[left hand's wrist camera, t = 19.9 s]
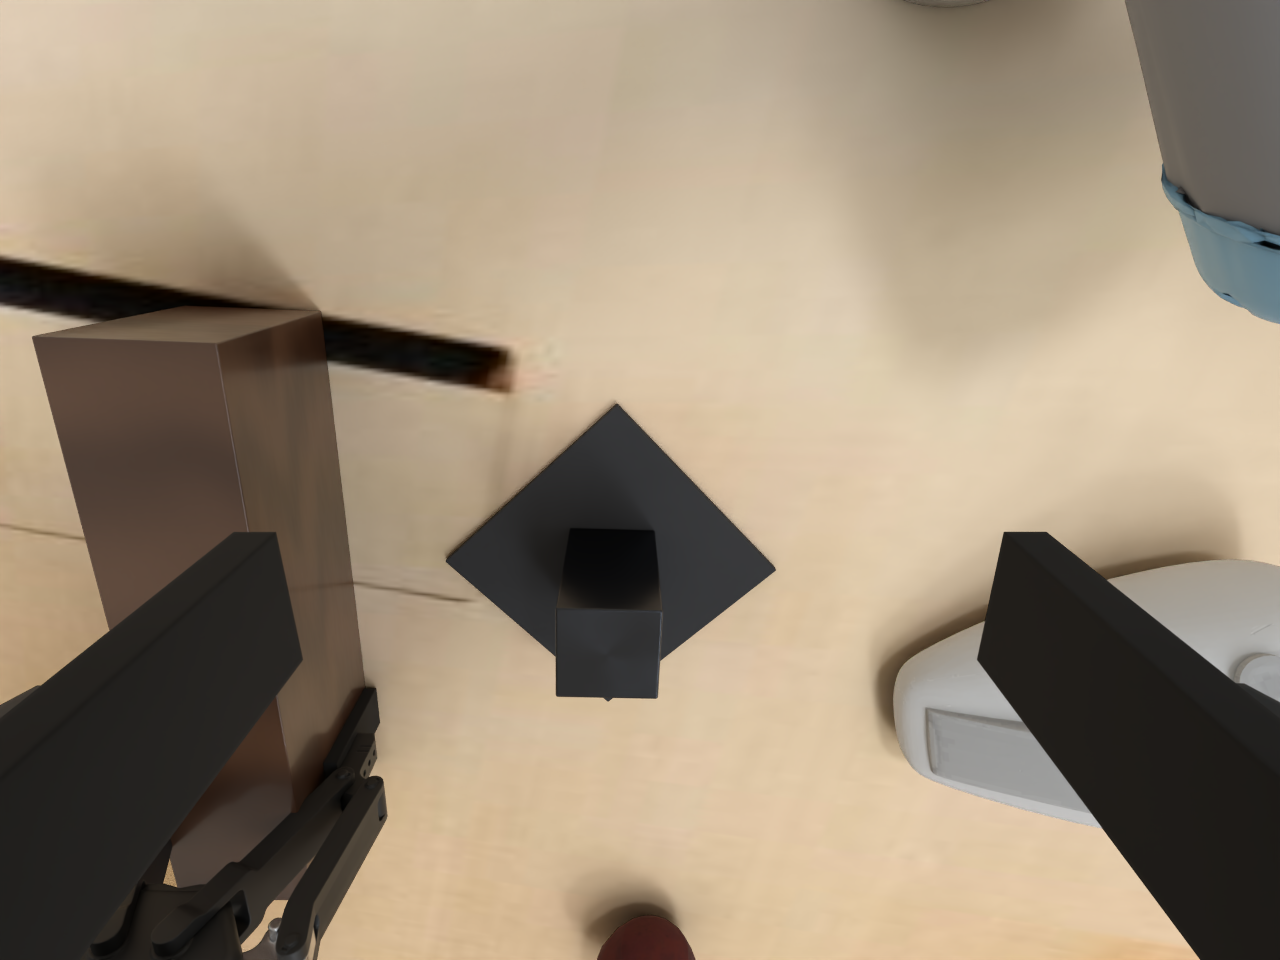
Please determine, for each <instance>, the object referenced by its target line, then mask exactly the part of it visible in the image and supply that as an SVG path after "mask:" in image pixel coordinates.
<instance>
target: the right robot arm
mask: <svg viewBox="0 0 1280 960" xmlns="http://www.w3.org/2000/svg"><path fill="white" fill-rule="evenodd" d="M379 723H380V719H379V711H378V702H377V693H376V688H364V690H363V691H362V693H361V695H360V697H359V699H358V700H357V702H356V704H355V706H354V708H353V710H352V711H351V713H350V715H349V717H348V719H347V720H346V722H345V724H344V726H343V728H342V730H341V731H340V733H339V735H338V737H337V739H336V740H335V742H334V744H333V746H332V748H331V750H330V751H329V753H328V755H327V757H326V759H325V760H324V762H323V766H324V773H325V780H324V781H323V782H322V783H321V784H320V785H319V786H318V787H317V788H316V789H315V790H314V791H313V792H312V793H311V794H310V795H309V796H308V797H307V798H306V799H305V800H304V801H303V803H302V805H301V807H300V809H299V811H298V812H297V813H290V814H289V815H288V816H287V817H286V818H285V819H284V820H283V821H282V822H281V823H280V824H278V825H277V826H276V827H275V828H274V829H273V830H272V831H271V832H270V833H269V834H268V835H267V836H266V837H265V838H264V839H263V840H262V841H261V842H260V843H259V844H258V845H257V846H256V847H255V848H253V849H252V850H251V851H250V852H249V853H248V854H247V855H246V856H245V857H244V858H243V859H242V860H241V861H240V862H234V861H232V862H230V863H228V864H227V865H226V866H225V867H223V868H222V869H221V870H220V871H219V872H218V873H217V874H216V875H215V876H214V877H213V878H212V879H211V880H210V881H209V882H208V883H207V884H198V885H193V886H188V887H183V888H177V887H174V886H170V885H167V884H163V881H164V878H165V874H166V870H167V866H168V862H169V858H170V855H171V851H172V847H173V846H172V842H171V839H169V841H168V842H167V843H166V845H165V846H164V847H163V849H162V850H161V851H160V853H159V854H158V855H157V857H156V858H155V859H154V861H153V862H152V863H151V865H150V866H149V867H148V869H147V870H146V871H145V873H144V874H143V875H142V877H141V878H140V880H139V881H138V882H137V884H136V885H135V886H134V888H133V889H132V890H131V892H130V893H129V894H128V896H127V897H126V898H125V900H124V901H123V902H122V904H121V905H120V906H119V908H118V909H117V910H116V912H115V913H114V914H113V916H112V917H111V918H110V920H109V921H108V922H107V924H106V925H105V926H104V928H103V929H102V931H101V932H100V933H99V935H98V936H97V937H96V939H95V940H94V941H93V943H92V944H91V945H90V947H89V948H88V949H87V951H86V952H85V953H84V955H83V956H82V957H81V959H80V960H317V957H318V951H319V945H320V940H321V938H322V937H323V935H324V933H325V931H326V929H327V927H328V926H329V924H330V922H331V920H332V918H333V916H334V915H335V913H336V911H337V909H338V907H339V905H340V904H341V902H342V900H343V898H344V896H345V894H346V893H347V891H348V889H349V887H350V885H351V883H352V882H353V880H354V878H355V876H356V874H357V873H358V871H359V869H360V867H361V865H362V863H363V862H364V860H365V858H366V856H367V854H368V852H369V851H370V849H371V847H372V845H373V843H374V841H375V840H376V838H377V836H378V834H379V832H380V830H381V829H382V827H383V825H384V823H385V821H386V819H387V807H386V798H385V790H384V782H383V779H382V778H381V777H379V776H371V777H369V775H370V772H371V770H372V768H373V766H374V764H375V762H376V759H377V752H376V744H375V735H374V734H375V732H376V730H377V727H378V725H379ZM315 855H316V856H315ZM314 856H315V857H314ZM313 857H314V859H313V860H312V858H313ZM311 860H312V862H311V863H310V865H309V867H308V868H307V870H306V871H305V873H304V875H303V876H302V878H301V879H300V881H299V883H298V884H297V886H296V887H295V889H294V891H293V893H292V894H291V896H290V898H289V900H288V902H287V905H286V907H285V909H284V913H283V916H282V918H275V919H273V920H272V921H271V922H270V923H269V925H268V929H269V930H268V931H267V932H266V933H265V935H264V937H263V939H262V941H261V942H260V943H259V944H258V945H257V946H256V947H255V948H253V949H251V950H249V951H247V952H243V953H242V949H241V944H242V943H243V942H244V941H245V940H246V939H247V938H248V937H249V936H250V934H251V933H252V932H253V931H254V930H255V929H256V928H257V927H258V926H259V924H260V923H261V921H262V919H263V917H264V914H265V911H266V909H267V907H268V906H269V905H270V904H271V903H272V901H273V900H274V899H275V898H276V897H277V896H278V895H279V894H280V893H281V892H282V891H283V890H284V889H285V887H286V886H287V885H288V884H289V883H290V882H291V881H292V880H293V879H294V878H295V877H296V876H297V875H298V874H299V872H300V871H301V870H302V869H303V868H304V867H305V866H306V865H307V864H308V863H309V862H310V861H311Z"/></svg>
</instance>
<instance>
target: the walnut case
mask: <svg viewBox="0 0 1280 960" xmlns="http://www.w3.org/2000/svg"><path fill="white" fill-rule="evenodd" d="M32 339H33V343H34V347H35V351H36V355H37V358H38V362H39V366H40V370H41V373H42V377H43V381H44V385H45V389H46V392H47V396H48V400H49V404H50V407H51V411H52V415H53V419H54V423H55V426H56V430H57V434H58V438H59V441H60V445H61V449H62V453H63V457H64V460H65V464H66V468H67V472H68V475H69V479H70V483H71V487H72V491H73V494H74V498H75V502H76V506H77V509H78V513H79V517H80V521H81V525H82V528H83V532H84V536H85V540H86V543H87V547H88V551H89V555H90V559H91V562H92V566H93V570H94V574H95V577H96V581H97V585H98V589H99V593H100V596H101V600H102V604H103V608H104V611H105V615H106V619H107V623H108V627H109V630H111V629H113V628H114V627H115V626H116V625H118V624H119V623H120V622H121V621H123V620H124V619H125V618H126V617H128V616H129V615H130V614H131V613H133V612H134V611H135V610H136V609H138V608H139V607H140V606H141V605H143V604H144V603H145V602H146V601H148V600H149V599H150V598H151V597H153V596H154V595H155V594H156V593H158V592H159V591H160V590H161V589H163V588H164V587H165V586H167V585H168V584H169V583H170V582H172V581H173V580H174V579H175V578H177V577H178V576H179V575H180V574H182V573H183V572H184V571H185V570H187V569H188V568H189V567H190V566H192V565H193V564H194V563H195V562H197V561H198V560H199V559H200V558H202V557H203V556H204V555H205V554H207V553H208V552H209V551H210V550H212V549H213V548H214V547H215V546H217V545H218V544H219V543H220V542H222V541H223V540H224V539H225V538H227V537H228V536H229V535H230V534H232V533H233V532H276V534H277V538H278V543H279V548H280V553H281V557H282V562H283V567H284V572H285V576H286V581H287V586H288V590H289V595H290V600H291V605H292V609H293V614H294V619H295V623H296V628H297V633H298V638H299V642H300V647H301V652H302V656H303V661H302V662H301V663H300V665H299V666H298V667H297V669H296V670H295V671H294V673H293V674H292V676H291V677H290V678H289V680H288V681H287V682H286V684H285V685H284V686H283V688H282V689H281V690H280V692H279V693H278V694H277V696H276V697H275V698H274V700H273V701H272V702H271V704H270V705H269V706H268V708H267V709H266V710H265V712H264V713H263V714H262V716H261V717H260V718H259V720H258V721H257V722H256V724H255V725H254V727H253V728H252V729H251V731H250V732H249V733H248V735H247V736H246V737H245V739H244V740H243V741H242V743H241V744H240V745H239V747H238V748H237V749H236V751H235V752H234V753H233V755H232V756H231V757H230V759H229V760H228V761H227V763H226V764H225V765H224V767H223V768H222V769H221V771H220V772H219V773H218V775H217V776H216V778H215V779H214V780H213V782H212V783H211V784H210V786H209V787H208V788H207V790H206V791H205V792H204V794H203V795H202V796H201V798H200V799H199V800H198V802H197V803H196V804H195V806H194V807H193V808H192V810H191V811H190V812H189V814H188V815H187V816H186V818H185V819H184V820H183V822H182V823H181V824H180V826H179V827H178V829H177V830H176V831H175V833H174V834H173V835H172V837H171V838H170V839H171V842H172V846H173V847H172V851H171V855H170V861H171V865H172V868H173V872H174V876H175V880H176V883H177V887H178V888H183V887H188V886H193V885H198V884H207V883H208V882H209V881H210V880H211V879H212V878H213V877H214V876H215V875H216V874H217V873H218V872H219V871H220V870H221V869H222V868H223V867H225V866H226V865H227V864H228V863H230V862H232V861H234V862H240V861H241V860H242V859H243V858H244V857H245V856H246V855H247V854H248V853H249V852H250V851H251V850H252V849H253V848H255V847H256V846H257V845H258V844H259V843H260V842H261V841H262V840H263V839H264V838H265V837H266V836H267V835H268V834H269V833H270V832H271V831H272V830H273V829H274V828H275V827H276V826H277V825H278V824H280V823H281V822H282V821H283V820H284V819H285V818H286V817H287V816H288V815H289V814H290V813H297V812H298V811H299V809H300V807H301V805H302V803H303V801H304V800H305V799H306V798H307V797H308V796H309V795H310V794H311V793H312V792H313V791H314V790H315V789H316V788H317V787H318V786H319V785H320V784H321V783H322V782H323V781H324V780H325V773H324V766H323V762H324V760H325V759H326V757H327V755H328V753H329V751H330V750H331V748H332V746H333V744H334V742H335V740H336V739H337V737H338V735H339V733H340V731H341V730H342V728H343V726H344V724H345V722H346V720H347V719H348V717H349V715H350V713H351V711H352V710H353V708H354V706H355V704H356V702H357V700H358V699H359V697H360V695H361V693H362V691H363V690H364V688H365V681H364V673H363V664H362V656H361V647H360V639H359V630H358V622H357V613H356V605H355V596H354V588H353V579H352V571H351V562H350V554H349V545H348V537H347V528H346V520H345V511H344V503H343V494H342V486H341V477H340V469H339V460H338V452H337V443H336V435H335V426H334V418H333V409H332V401H331V392H330V384H329V375H328V367H327V358H326V350H325V341H324V333H323V324H322V316H321V311H307V310H281V309H256V308H231V307H205V306H181V307H176V308H171V309H166V310H161V311H156V312H151V313H146V314H141V315H136V316H131V317H126V318H121V319H116V320H111V321H106V322H101V323H96V324H91V325H86V326H81V327H76V328H71V329H66V330H61V331H56V332H51V333H46V334H41V335H36V336H33V337H32ZM371 771H372V770H371ZM370 773H371V772H370ZM315 856H316V855H315ZM315 856H314V857H315ZM314 857H313V858H312V860H313V859H314ZM312 860H311V861H310V862H309V863H308V864H307V865H306V866H305V867H304V868H303V869H302V870H301V871H300V872H299V874H298V875H297V876H296V877H295V878H294V879H293V880H292V881H291V882H290V883H289V884H288V885H287V886H286V887H285V889H284V890H283V891H282V892H281V893H280V894H279V895H278V896H277V897H276V898H275V899H274V900H289V898H290V896H291V894H292V893H293V891H294V889H295V887H296V886H297V884H298V883H299V881H300V879H301V878H302V876H303V875H304V873H305V871H306V870H307V868H308V867H309V865H310V863H311V862H312Z"/></svg>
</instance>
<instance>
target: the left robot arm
mask: <svg viewBox="0 0 1280 960" xmlns="http://www.w3.org/2000/svg"><path fill="white" fill-rule="evenodd" d="M904 1H907V2H911V3H916V4H920V5H926V6H935V7H956V6H964V5H972V4H976V3H980V2H985V1H988V0H904ZM1125 3H1126V7H1127V11H1128V15H1129V19H1130V23H1131V27H1132V31H1133V35H1134V39H1135V43H1136V47H1137V51H1138V55H1139V59H1140V64H1141V68H1142V73H1143V77H1144V81H1145V86H1146V90H1147V94H1148V99H1149V103H1150V107H1151V112H1152V116H1153V120H1154V125H1155V129H1156V133H1157V138H1158V142H1159V146H1160V151H1161V155H1162V160H1163V164H1162V179H1161V181H1162V186H1163V190H1164V192H1165V194H1166V197H1167V198H1168V200H1169V201H1170V202H1171V204H1172V205H1173V206H1174V208H1175V209H1177V210H1178V211H1179V214H1180V217H1181V220H1182V223H1183V227H1184V230H1185V233H1186V236H1187V240H1188V243H1189V246H1190V249H1191V252H1192V256H1193V259H1194V262H1195V265H1196V267H1197V269H1198V271H1199V273H1200V275H1201V277H1202V278H1203V280H1204V281H1205V283H1206V284H1207V285H1208V286H1209V287H1210V288H1211V289H1212V290H1213V291H1214V292H1215V293H1216V294H1217V295H1218V296H1219V297H1220V298H1222V299H1224V300H1226V301H1228V302H1230V303H1232V304H1234V305H1237V306H1239V307H1243V308H1245V309H1247V310H1248V311H1249V312H1250V313H1252V314H1253V315H1255V316H1257V317H1259V318H1261V319H1264V320H1267V321H1270V322H1274V323H1278V324H1280V0H1125ZM302 661H303V656H302V652H301V647H300V642H299V638H298V633H297V628H296V623H295V619H294V614H293V609H292V605H291V600H290V595H289V590H288V586H287V581H286V576H285V572H284V567H283V562H282V557H281V553H280V548H279V543H278V538H277V534H276V532H233V533H232V534H230V535H229V536H228V537H227V538H225V539H224V540H223V541H222V542H220V543H219V544H218V545H217V546H215V547H214V548H213V549H212V550H210V551H209V552H208V553H207V554H205V555H204V556H203V557H202V558H200V559H199V560H198V561H197V562H195V563H194V564H193V565H192V566H190V567H189V568H188V569H187V570H185V571H184V572H183V573H182V574H180V575H179V576H178V577H177V578H175V579H174V580H173V581H172V582H170V583H169V584H168V585H167V586H165V587H164V588H163V589H161V590H160V591H159V592H158V593H156V594H155V595H154V596H153V597H151V598H150V599H149V600H148V601H146V602H145V603H144V604H143V605H141V606H140V607H139V608H138V609H136V610H135V611H134V612H133V613H131V614H130V615H129V616H128V617H126V618H125V619H124V620H123V621H121V622H120V623H119V624H118V625H116V626H115V627H114V628H113V629H111V630H110V631H109V632H108V633H106V634H105V635H104V636H103V637H101V638H100V639H99V640H98V641H96V642H95V643H94V644H93V645H91V646H90V647H89V648H88V649H86V650H85V651H84V652H83V653H81V654H80V655H79V656H78V657H76V658H75V659H74V660H72V661H71V662H70V663H69V664H67V665H66V666H65V667H64V668H62V669H61V670H60V671H59V672H57V673H56V674H55V675H54V676H52V677H51V678H50V679H49V680H47V681H46V682H45V683H44V684H42V685H41V686H35V687H33V688H31V689H30V690H28V691H26V692H24V693H22V694H20V695H18V696H16V697H15V698H13V699H11V700H9V701H7V702H5V703H3V704H1V705H0V960H80V959H81V957H82V956H83V955H84V953H85V952H86V951H87V949H88V948H89V947H90V945H91V944H92V943H93V941H94V940H95V939H96V937H97V936H98V935H99V933H100V932H101V931H102V929H103V928H104V926H105V925H106V924H107V922H108V921H109V920H110V918H111V917H112V916H113V914H114V913H115V912H116V910H117V909H118V908H119V906H120V905H121V904H122V902H123V901H124V900H125V898H126V897H127V896H128V894H129V893H130V892H131V890H132V889H133V888H134V886H135V885H136V884H137V882H138V881H139V880H140V878H141V877H142V875H143V874H144V873H145V871H146V870H147V869H148V867H149V866H150V865H151V863H152V862H153V861H154V859H155V858H156V857H157V855H158V854H159V853H160V851H161V850H162V849H163V847H164V846H165V845H166V843H167V842H168V841H169V839H170V838H171V837H172V835H173V834H174V833H175V831H176V830H177V829H178V827H179V826H180V824H181V823H182V822H183V820H184V819H185V818H186V816H187V815H188V814H189V812H190V811H191V810H192V808H193V807H194V806H195V804H196V803H197V802H198V800H199V799H200V798H201V796H202V795H203V794H204V792H205V791H206V790H207V788H208V787H209V786H210V784H211V783H212V782H213V780H214V779H215V778H216V776H217V775H218V773H219V772H220V771H221V769H222V768H223V767H224V765H225V764H226V763H227V761H228V760H229V759H230V757H231V756H232V755H233V753H234V752H235V751H236V749H237V748H238V747H239V745H240V744H241V743H242V741H243V740H244V739H245V737H246V736H247V735H248V733H249V732H250V731H251V729H252V728H253V727H254V725H255V724H256V722H257V721H258V720H259V718H260V717H261V716H262V714H263V713H264V712H265V710H266V709H267V708H268V706H269V705H270V704H271V702H272V701H273V700H274V698H275V697H276V696H277V694H278V693H279V692H280V690H281V689H282V688H283V686H284V685H285V684H286V682H287V681H288V680H289V678H290V677H291V676H292V674H293V673H294V671H295V670H296V669H297V667H298V666H299V665H300V663H301V662H302ZM977 661H978V662H979V663H980V665H981V666H982V667H983V669H984V670H985V671H986V673H987V674H988V676H989V677H990V678H991V680H992V681H993V682H994V684H995V685H996V686H997V688H998V689H999V690H1000V692H1001V693H1002V694H1003V696H1004V697H1005V698H1006V700H1007V701H1008V702H1009V704H1010V705H1011V706H1012V708H1013V709H1014V710H1015V712H1016V713H1017V714H1018V716H1019V717H1020V718H1021V720H1022V721H1023V722H1024V724H1025V725H1026V727H1027V728H1028V729H1029V731H1030V732H1031V733H1032V735H1033V736H1034V737H1035V739H1036V740H1037V741H1038V743H1039V744H1040V745H1041V747H1042V748H1043V749H1044V751H1045V752H1046V753H1047V755H1048V756H1049V757H1050V759H1051V760H1052V761H1053V763H1054V764H1055V765H1056V767H1057V768H1058V769H1059V771H1060V772H1061V773H1062V775H1063V776H1064V778H1065V779H1066V780H1067V782H1068V783H1069V784H1070V786H1071V787H1072V788H1073V790H1074V791H1075V792H1076V794H1077V795H1078V796H1079V798H1080V799H1081V800H1082V802H1083V803H1084V804H1085V806H1086V807H1087V808H1088V810H1089V811H1090V812H1091V814H1092V815H1093V816H1094V818H1095V819H1096V820H1097V822H1098V823H1099V824H1100V826H1101V827H1102V829H1103V830H1104V831H1105V833H1106V834H1107V835H1108V837H1109V838H1110V839H1111V841H1112V842H1113V843H1114V845H1115V846H1116V847H1117V849H1118V850H1119V851H1120V853H1121V854H1122V855H1123V857H1124V858H1125V859H1126V861H1127V862H1128V863H1129V865H1130V866H1131V867H1132V869H1133V870H1134V871H1135V873H1136V874H1137V875H1138V877H1139V878H1140V880H1141V881H1142V882H1143V884H1144V885H1145V886H1146V888H1147V889H1148V890H1149V892H1150V893H1151V894H1152V896H1153V897H1154V898H1155V900H1156V901H1157V902H1158V904H1159V905H1160V906H1161V908H1162V909H1163V910H1164V912H1165V913H1166V914H1167V916H1168V917H1169V918H1170V920H1171V921H1172V922H1173V924H1174V925H1175V926H1176V928H1177V929H1178V931H1179V932H1180V933H1181V935H1182V936H1183V937H1184V939H1185V940H1186V941H1187V943H1188V944H1189V945H1190V947H1191V948H1192V949H1193V951H1194V952H1195V953H1196V955H1197V956H1198V957H1199V959H1200V960H1280V702H1279V701H1277V700H1275V699H1273V698H1271V697H1269V696H1267V695H1266V694H1264V693H1262V692H1260V691H1258V690H1256V689H1254V688H1252V687H1250V686H1248V685H1247V684H1245V683H1235V682H1234V681H1233V680H1231V679H1230V678H1229V677H1228V676H1226V675H1225V674H1224V673H1223V672H1221V671H1220V670H1219V669H1218V668H1216V667H1215V666H1214V665H1213V664H1211V663H1210V662H1209V661H1208V660H1206V659H1205V658H1204V657H1202V656H1201V655H1200V654H1199V653H1197V652H1196V651H1195V650H1194V649H1192V648H1191V647H1190V646H1189V645H1187V644H1186V643H1185V642H1184V641H1182V640H1181V639H1180V638H1179V637H1177V636H1176V635H1175V634H1174V633H1172V632H1171V631H1170V630H1169V629H1167V628H1166V627H1165V626H1164V625H1162V624H1161V623H1160V622H1159V621H1157V620H1156V619H1155V618H1154V617H1152V616H1151V615H1150V614H1149V613H1147V612H1146V611H1145V610H1144V609H1142V608H1141V607H1140V606H1139V605H1137V604H1136V603H1135V602H1134V601H1132V600H1131V599H1130V598H1129V597H1127V596H1126V595H1125V594H1124V593H1122V592H1121V591H1120V590H1119V589H1117V588H1116V587H1115V586H1113V585H1112V584H1111V583H1110V582H1108V581H1107V580H1106V579H1105V578H1103V577H1102V576H1101V575H1100V574H1098V573H1097V572H1096V571H1095V570H1093V569H1092V568H1091V567H1090V566H1088V565H1087V564H1086V563H1085V562H1083V561H1082V560H1081V559H1080V558H1078V557H1077V556H1076V555H1075V554H1073V553H1072V552H1071V551H1070V550H1068V549H1067V548H1066V547H1065V546H1063V545H1062V544H1061V543H1060V542H1058V541H1057V540H1056V539H1055V538H1053V537H1052V536H1051V535H1050V534H1048V533H1047V532H1004V534H1003V538H1002V543H1001V548H1000V553H999V557H998V562H997V567H996V572H995V576H994V581H993V586H992V590H991V595H990V600H989V605H988V609H987V614H986V619H985V623H984V628H983V633H982V638H981V642H980V647H979V652H978V656H977Z"/></svg>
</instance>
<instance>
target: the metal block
mask: <svg viewBox="0 0 1280 960" xmlns="http://www.w3.org/2000/svg"><path fill="white" fill-rule="evenodd" d="M662 620H663V607H662V597H661V587H660V577H659V567H658V556H657V546H656V536H655V531H654V530H625V529H590V528H570V530H569V535H568V541H567V547H566V553H565V558H564V564H563V570H562V576H561V581H560V587H559V593H558V598H557V604H556V696H557V697H600V698H651V699H656V698H657V697H658V686H659V669H660V653H661V636H662Z"/></svg>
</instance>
